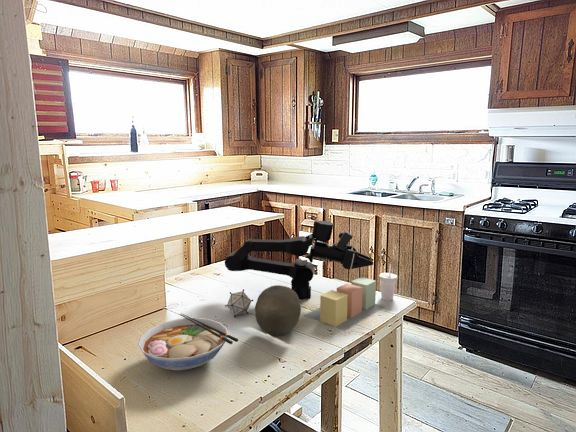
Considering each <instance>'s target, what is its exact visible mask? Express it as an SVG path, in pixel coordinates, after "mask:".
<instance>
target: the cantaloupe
mask: <svg viewBox="0 0 576 432" xmlns="http://www.w3.org/2000/svg"><path fill="white" fill-rule="evenodd" d="M301 307H302V306H301V301H300V300H299V297H298V295H297V294H296V293H295V291H294V290H292V289H291V287H288V286H285V285H281V284H277V285H271V286H268V287H267V288H265V289H263V290H262V291H261V293H260V294H259V295H258V297H257V300H256V303H255V307H254V314H255V315H254V316H255V320H256V322H257V325H258V326H259V328H260V329H261V330H262V331H263V332H265V334H267V335H269V336H273V337H274V336H282V335H283V336H284V335H285V334H288V333H289V332H290V331H292V330H293V329H294V328H295V326H296V325H297V324H298V322H299V320H300V316H301V310H302V308H301Z"/></svg>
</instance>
